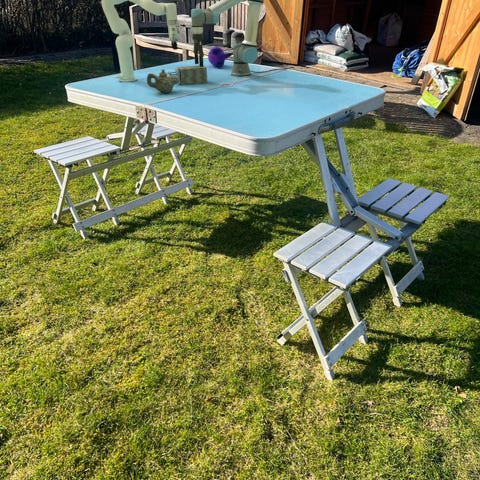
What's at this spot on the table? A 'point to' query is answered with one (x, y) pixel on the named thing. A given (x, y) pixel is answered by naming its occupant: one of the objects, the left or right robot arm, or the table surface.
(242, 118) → the table surface
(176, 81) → the teapot
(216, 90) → the table surface
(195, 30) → the right robot arm
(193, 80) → the cabinet
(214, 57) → the toy
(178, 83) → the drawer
